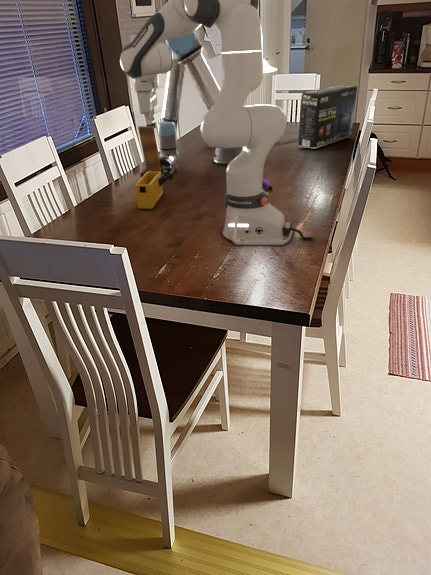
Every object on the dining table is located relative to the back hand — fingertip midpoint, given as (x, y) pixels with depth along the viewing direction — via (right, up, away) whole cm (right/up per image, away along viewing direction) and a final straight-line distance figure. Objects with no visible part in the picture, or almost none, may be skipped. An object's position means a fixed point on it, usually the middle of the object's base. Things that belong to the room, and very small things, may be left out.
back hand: (151, 182), depth 179 cm
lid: (0, +11, -4) cm, 12 cm away
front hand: (0, +22, -5) cm, 22 cm away
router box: (+83, +36, +66) cm, 112 cm away
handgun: (+43, +3, +13) cm, 45 cm away
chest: (0, -7, 0) cm, 7 cm away
